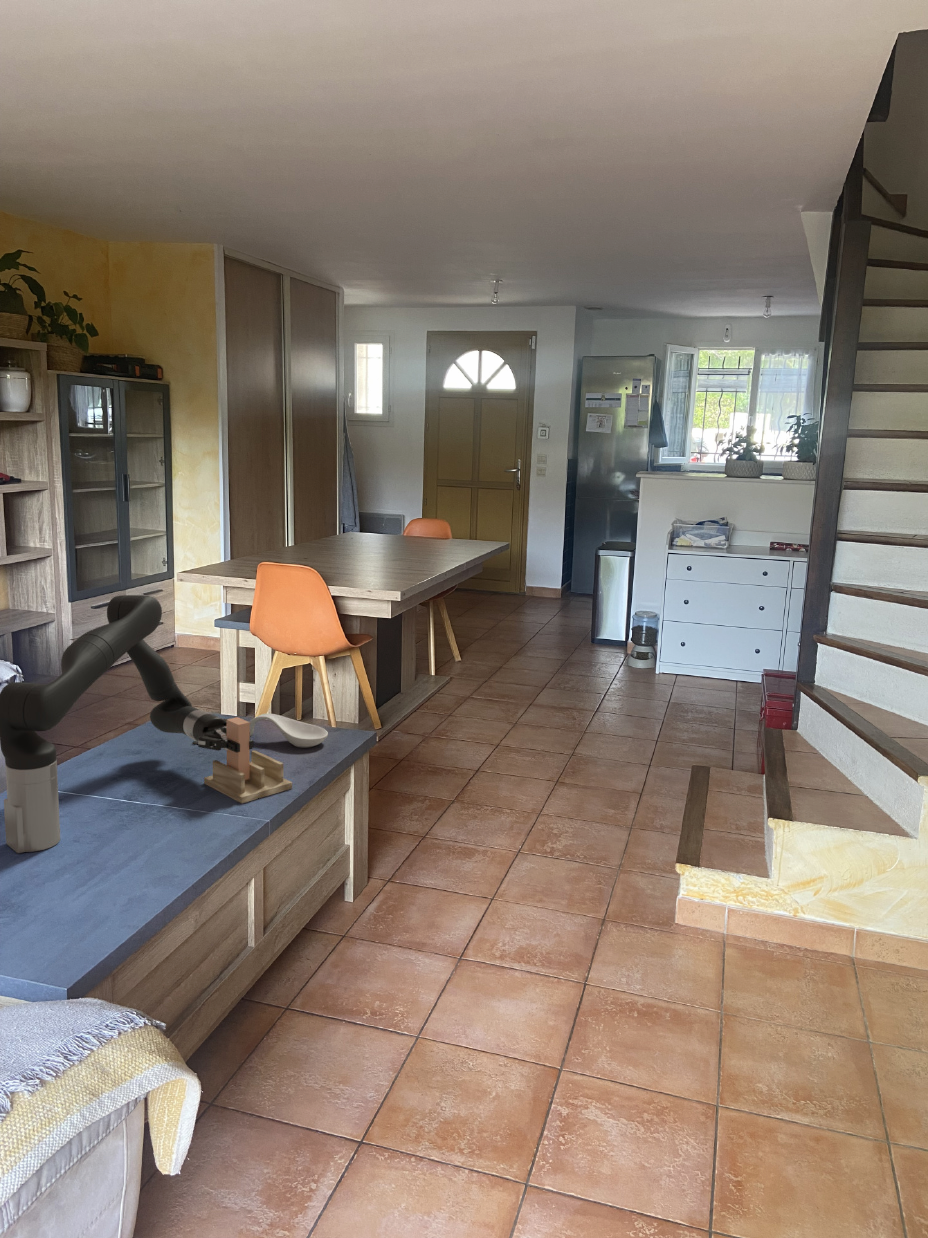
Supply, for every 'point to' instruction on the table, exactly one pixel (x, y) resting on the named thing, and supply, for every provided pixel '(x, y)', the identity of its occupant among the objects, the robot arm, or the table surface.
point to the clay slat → (240, 734)
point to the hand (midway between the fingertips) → (245, 746)
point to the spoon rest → (294, 730)
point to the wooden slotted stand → (261, 783)
